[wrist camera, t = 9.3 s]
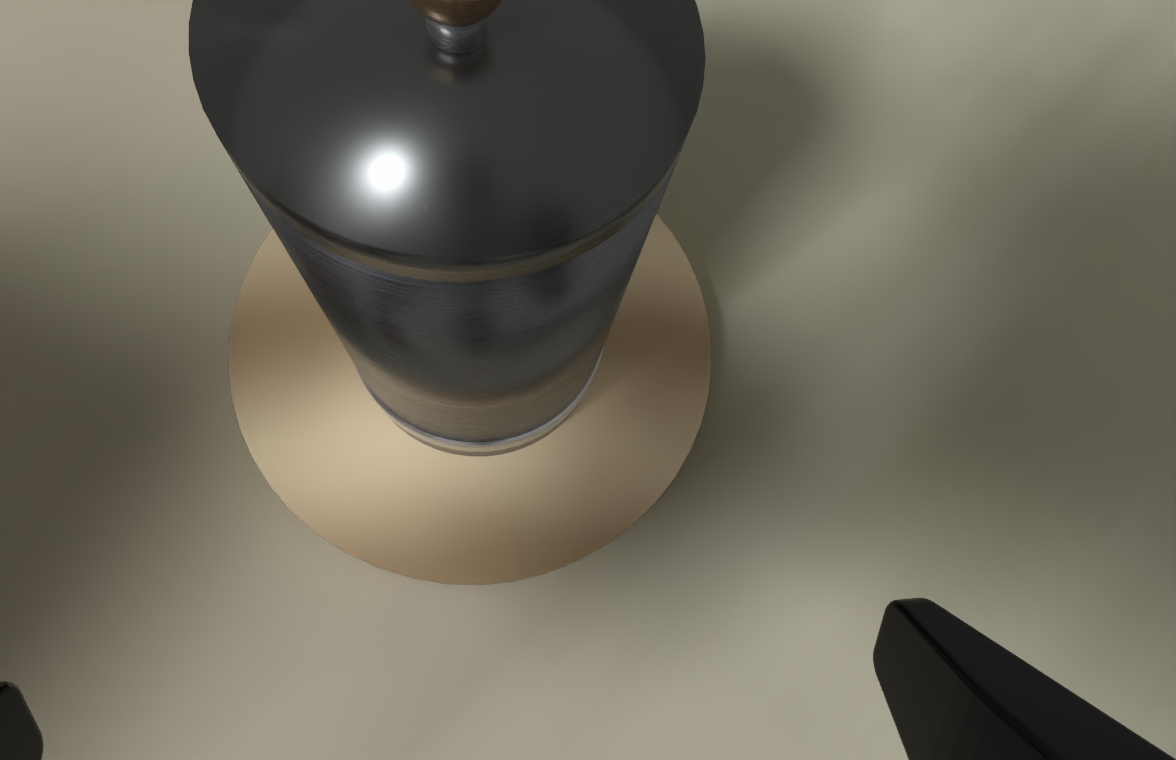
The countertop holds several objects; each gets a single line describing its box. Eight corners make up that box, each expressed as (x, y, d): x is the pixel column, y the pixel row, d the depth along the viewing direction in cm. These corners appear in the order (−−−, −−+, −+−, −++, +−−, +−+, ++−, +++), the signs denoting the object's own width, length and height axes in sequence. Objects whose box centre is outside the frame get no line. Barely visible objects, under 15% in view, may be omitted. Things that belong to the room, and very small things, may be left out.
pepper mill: (606, 451, 18) (793, 180, 7) (358, 466, 17) (78, 184, 6) (581, 171, 20) (688, -398, 9) (361, 173, 20) (161, -450, 8)
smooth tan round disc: (745, 541, 19) (759, 538, 18) (253, 626, 17) (238, 627, 16) (655, 137, 22) (662, 116, 21) (233, 172, 20) (219, 150, 19)
